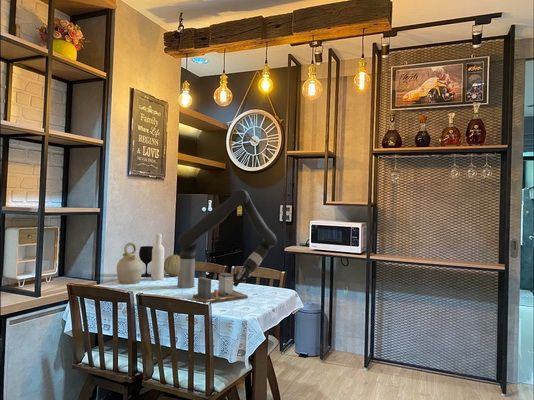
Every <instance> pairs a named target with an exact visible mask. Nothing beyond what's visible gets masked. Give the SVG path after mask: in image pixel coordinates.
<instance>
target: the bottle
mask: <svg viewBox="0 0 534 400" xmlns="http://www.w3.org/2000/svg"><path fill="white" fill-rule="evenodd" d="M162 237H163V236H162V233H156V234H155V245H154V246H153V249H152V261H151V273H150V274H151V277H150V278H151V279H152V280H151V279H150V280H151V281H155V280H159V281H163V280H164V277H165V274H164V273H165V271H164V261H165V247H164V246H163V244H162V241H163V240H162Z"/></svg>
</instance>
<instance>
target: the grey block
mask: <svg viewBox="0 0 534 400" xmlns="http://www.w3.org/2000/svg"><path fill="white" fill-rule="evenodd" d="M234 276H235V275H234V274H232V273H228V272H221V273H218V286H217V287H218V289H217V290H218V294H221V295H223V296H229V295H233V290H234V285H233V283H234Z"/></svg>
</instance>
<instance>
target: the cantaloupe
mask: <svg viewBox="0 0 534 400" xmlns="http://www.w3.org/2000/svg"><path fill="white" fill-rule="evenodd" d="M179 265H180V255H178V254H177V253H175V254H172V255H169V256H167V257H166V258H165V259H164V273H166V274H167V275H168V276H170V277H178V271H179Z"/></svg>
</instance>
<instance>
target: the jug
mask: <svg viewBox="0 0 534 400" xmlns="http://www.w3.org/2000/svg"><path fill="white" fill-rule="evenodd" d="M129 246H132V248H133V251H132V252H128V247H129ZM123 250H124V251H123V253H122V256H123V257H122V258H120V259H119V261H118V262H117V264H116V273H117V280H118V282H119V284H121V285H136V283H137V284H139V283H140V281H141V279H142V277H141V274H143V267H144V266H143V262H142V261H141V260H140V257H137V256H136V252H137V246H136V244H135V243H133V242H128V243H126V244H125V246H124V248H123Z"/></svg>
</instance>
